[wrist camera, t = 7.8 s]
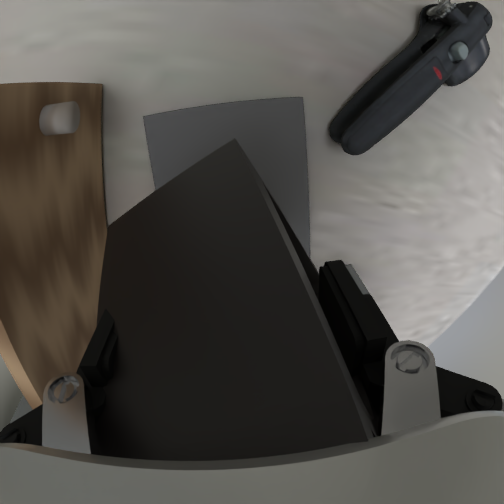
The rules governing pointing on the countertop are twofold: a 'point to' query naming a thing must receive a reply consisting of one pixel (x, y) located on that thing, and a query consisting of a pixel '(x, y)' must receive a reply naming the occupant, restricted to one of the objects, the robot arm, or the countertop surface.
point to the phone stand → (220, 328)
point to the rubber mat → (251, 141)
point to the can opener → (416, 73)
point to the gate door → (49, 228)
